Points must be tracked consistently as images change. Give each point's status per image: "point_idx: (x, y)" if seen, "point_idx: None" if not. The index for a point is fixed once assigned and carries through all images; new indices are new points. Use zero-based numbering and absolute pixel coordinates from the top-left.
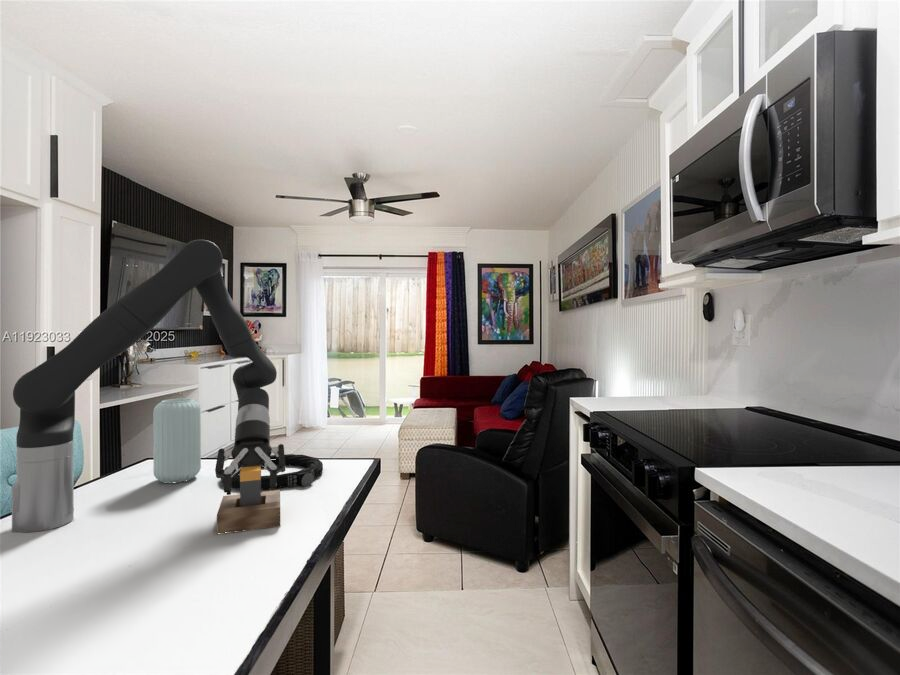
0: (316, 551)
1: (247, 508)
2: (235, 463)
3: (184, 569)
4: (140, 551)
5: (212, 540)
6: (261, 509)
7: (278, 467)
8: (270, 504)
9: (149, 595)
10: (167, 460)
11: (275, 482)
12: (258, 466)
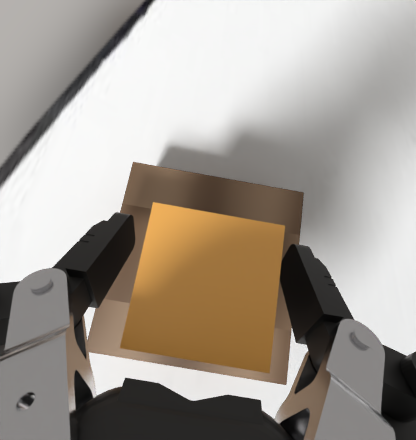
0: (121, 35)
1: (221, 198)
2: (343, 393)
3: (327, 81)
4: (413, 195)
5: (288, 178)
6: (185, 172)
7: (10, 295)
8: (153, 198)
9: (363, 29)
10: None
11: (99, 226)
12: (142, 331)
